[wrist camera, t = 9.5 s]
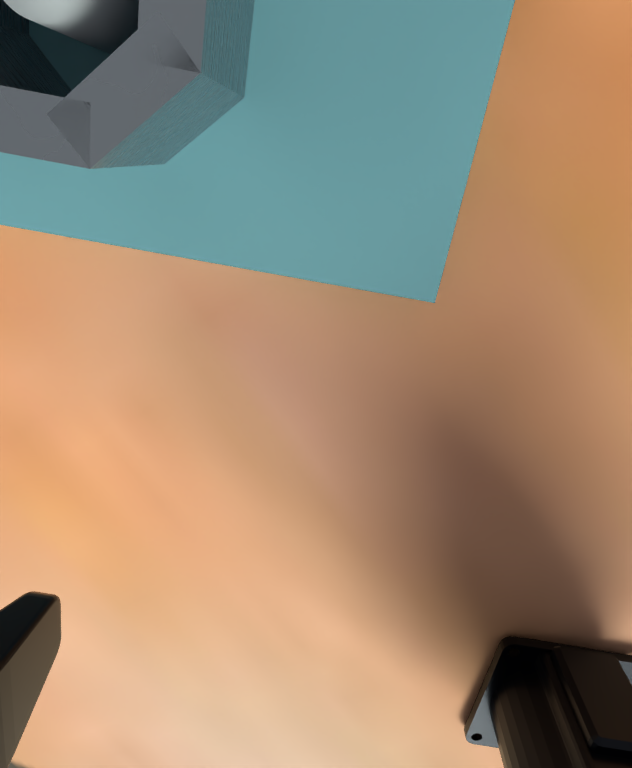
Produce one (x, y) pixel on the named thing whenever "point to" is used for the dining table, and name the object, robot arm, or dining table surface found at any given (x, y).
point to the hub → (127, 87)
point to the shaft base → (290, 143)
